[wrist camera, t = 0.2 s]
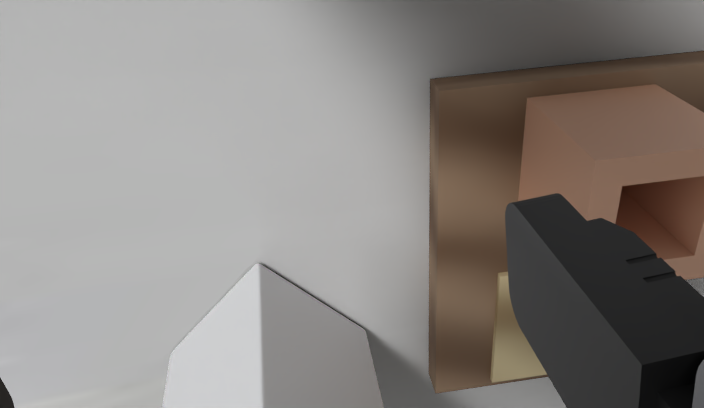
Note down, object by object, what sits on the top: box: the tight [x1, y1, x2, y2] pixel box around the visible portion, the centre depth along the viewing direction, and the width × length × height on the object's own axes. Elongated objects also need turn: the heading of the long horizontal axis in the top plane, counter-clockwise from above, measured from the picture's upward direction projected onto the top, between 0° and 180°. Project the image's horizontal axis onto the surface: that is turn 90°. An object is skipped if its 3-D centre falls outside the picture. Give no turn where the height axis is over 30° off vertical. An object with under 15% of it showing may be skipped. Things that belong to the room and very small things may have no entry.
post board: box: [429, 51, 704, 393], centre depth 28 cm, size 17×13×9 cm
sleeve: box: [518, 84, 704, 280], centre depth 25 cm, size 6×6×6 cm
